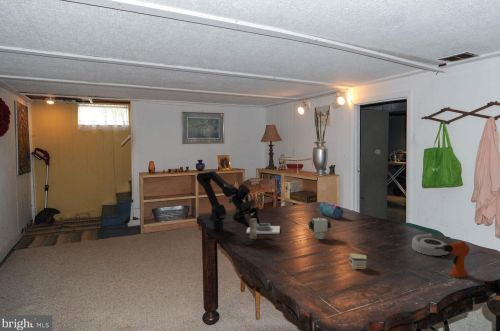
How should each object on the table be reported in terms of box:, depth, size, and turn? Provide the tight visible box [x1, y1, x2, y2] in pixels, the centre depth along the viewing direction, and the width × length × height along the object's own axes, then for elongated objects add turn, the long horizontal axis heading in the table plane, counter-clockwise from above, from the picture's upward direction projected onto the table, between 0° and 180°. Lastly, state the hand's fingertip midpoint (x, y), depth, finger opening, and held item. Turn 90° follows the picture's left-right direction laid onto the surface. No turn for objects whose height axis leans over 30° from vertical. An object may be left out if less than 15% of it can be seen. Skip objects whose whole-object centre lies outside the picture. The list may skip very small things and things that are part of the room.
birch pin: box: [249, 218, 258, 240], centre depth 181 cm, size 4×4×11 cm
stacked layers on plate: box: [348, 253, 368, 270], centre depth 137 cm, size 10×9×6 cm
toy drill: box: [434, 241, 471, 278], centre depth 126 cm, size 5×18×14 cm, turn 109°
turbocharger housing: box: [411, 233, 450, 256], centre depth 156 cm, size 17×7×15 cm
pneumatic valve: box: [307, 217, 332, 240], centre depth 179 cm, size 6×12×12 cm, turn 94°
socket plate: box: [245, 222, 281, 235], centre depth 196 cm, size 20×14×4 cm
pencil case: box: [317, 201, 344, 220], centre depth 231 cm, size 21×9×10 cm, turn 19°
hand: (254, 225), depth 180 cm, fingers open, 9 cm apart
